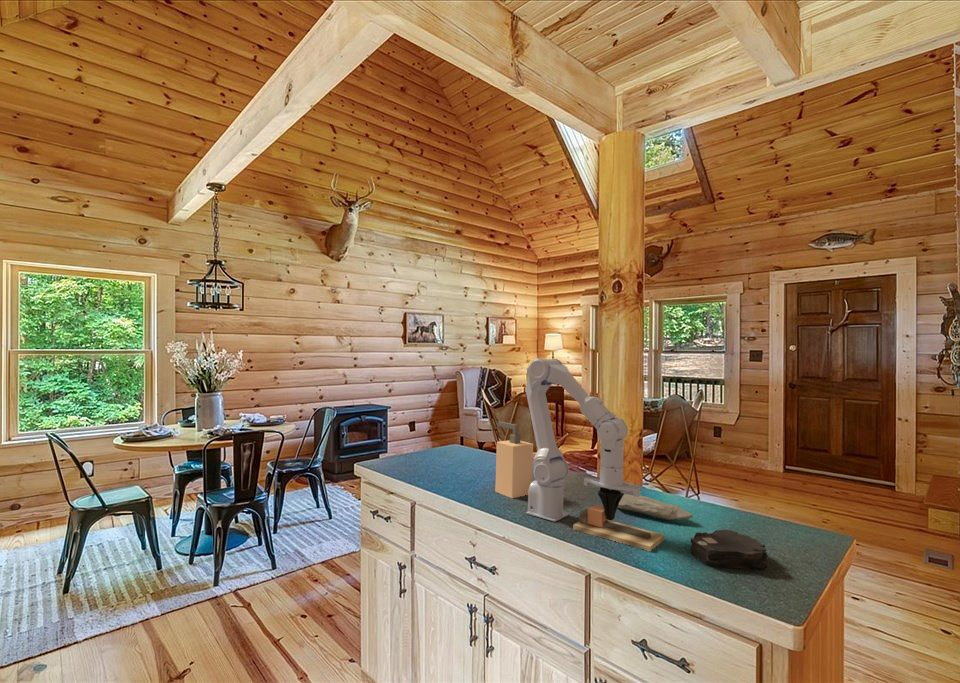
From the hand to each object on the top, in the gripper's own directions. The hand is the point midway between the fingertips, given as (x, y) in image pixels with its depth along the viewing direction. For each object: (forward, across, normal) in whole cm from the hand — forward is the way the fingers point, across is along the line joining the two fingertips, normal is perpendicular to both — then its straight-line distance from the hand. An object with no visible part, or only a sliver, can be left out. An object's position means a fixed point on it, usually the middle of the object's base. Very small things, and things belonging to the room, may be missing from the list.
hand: (610, 518), depth 123 cm
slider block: (+2, +3, 0) cm, 4 cm away
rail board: (+3, -2, 0) cm, 4 cm away
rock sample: (+4, -27, -4) cm, 28 cm away
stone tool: (+4, -2, -22) cm, 22 cm away
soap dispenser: (+4, +40, -11) cm, 42 cm away
